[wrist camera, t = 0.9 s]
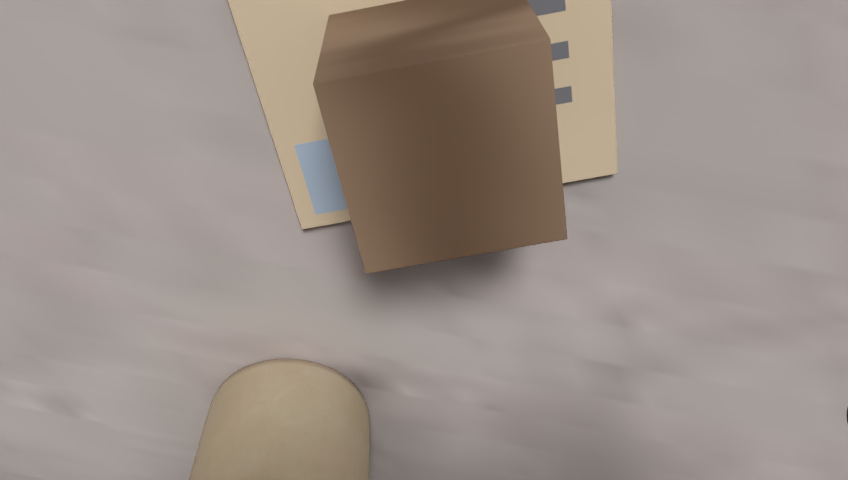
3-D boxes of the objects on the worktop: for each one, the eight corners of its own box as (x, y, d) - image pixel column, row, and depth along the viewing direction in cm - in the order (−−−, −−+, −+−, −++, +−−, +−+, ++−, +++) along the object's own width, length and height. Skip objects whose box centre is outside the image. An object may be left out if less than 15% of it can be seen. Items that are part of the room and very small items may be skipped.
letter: (603, -100, 17) (607, -97, 16) (614, 168, 20) (617, 173, 20) (223, -23, 17) (221, -20, 17) (303, 223, 21) (302, 229, 21)
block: (514, -22, 17) (550, 38, 13) (532, 148, 20) (567, 238, 16) (329, 15, 17) (312, 83, 14) (369, 177, 20) (365, 273, 16)
